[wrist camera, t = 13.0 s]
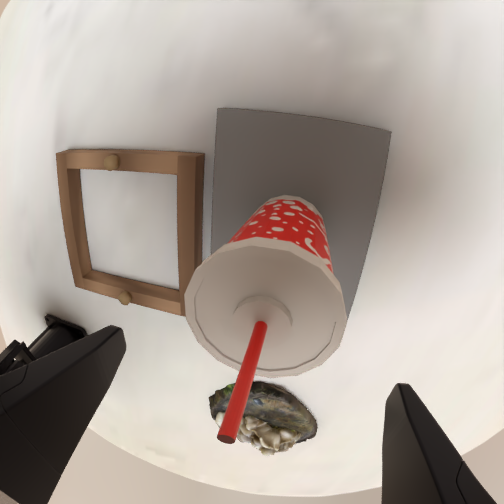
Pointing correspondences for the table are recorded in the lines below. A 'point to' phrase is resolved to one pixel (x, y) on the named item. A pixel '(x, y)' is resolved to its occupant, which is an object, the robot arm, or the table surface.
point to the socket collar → (188, 221)
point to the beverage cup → (268, 300)
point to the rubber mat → (301, 178)
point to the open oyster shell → (267, 418)
